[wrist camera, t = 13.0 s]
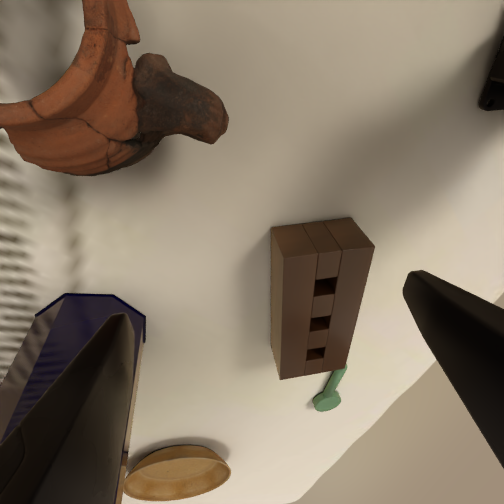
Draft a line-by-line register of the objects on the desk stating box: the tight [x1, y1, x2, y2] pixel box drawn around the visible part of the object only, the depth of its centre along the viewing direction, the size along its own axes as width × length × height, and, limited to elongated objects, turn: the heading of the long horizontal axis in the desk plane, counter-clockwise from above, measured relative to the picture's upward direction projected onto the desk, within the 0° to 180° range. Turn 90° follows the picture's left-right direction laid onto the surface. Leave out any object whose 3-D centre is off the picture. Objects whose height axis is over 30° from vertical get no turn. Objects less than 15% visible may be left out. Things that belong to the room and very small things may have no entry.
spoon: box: [313, 364, 347, 412], centre depth 39 cm, size 1×4×10 cm
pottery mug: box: [0, 0, 229, 176], centre depth 14 cm, size 12×10×8 cm
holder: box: [271, 218, 375, 380], centre depth 27 cm, size 6×15×4 cm, turn 2°
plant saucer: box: [123, 445, 231, 501], centre depth 44 cm, size 15×15×3 cm
